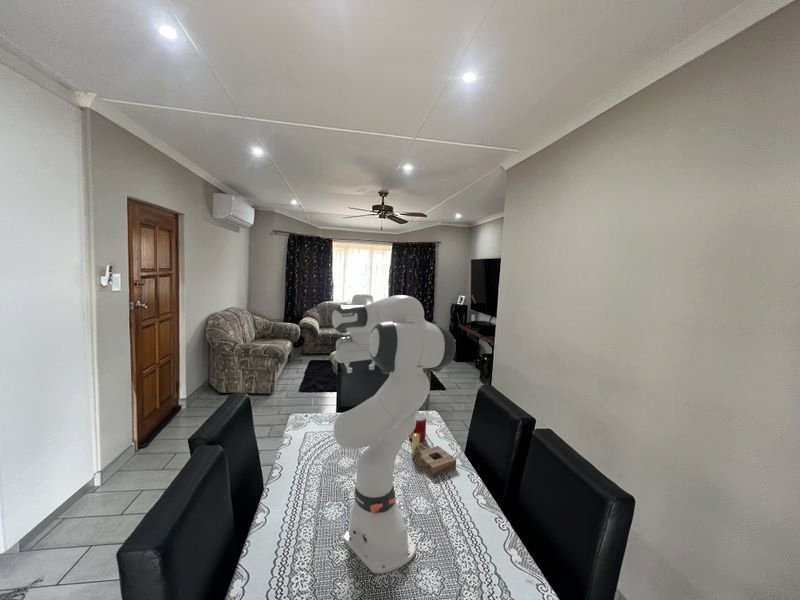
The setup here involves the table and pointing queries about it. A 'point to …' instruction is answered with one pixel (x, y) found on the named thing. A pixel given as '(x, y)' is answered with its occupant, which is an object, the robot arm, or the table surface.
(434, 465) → the socket block
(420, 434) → the canned food
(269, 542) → the table surface
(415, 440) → the pin
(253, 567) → the table surface
